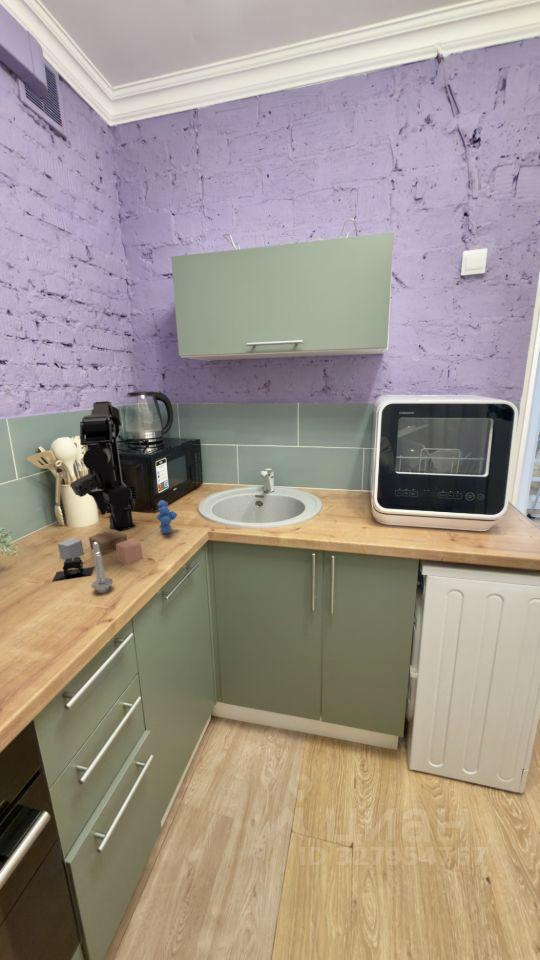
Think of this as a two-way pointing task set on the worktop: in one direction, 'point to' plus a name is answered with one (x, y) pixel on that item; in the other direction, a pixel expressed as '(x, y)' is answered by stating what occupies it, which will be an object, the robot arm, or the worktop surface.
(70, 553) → the slate cube
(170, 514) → the grapes
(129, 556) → the terracotta cube
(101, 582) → the screw
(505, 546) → the worktop surface
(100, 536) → the walnut block
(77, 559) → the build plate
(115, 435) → the robot arm
